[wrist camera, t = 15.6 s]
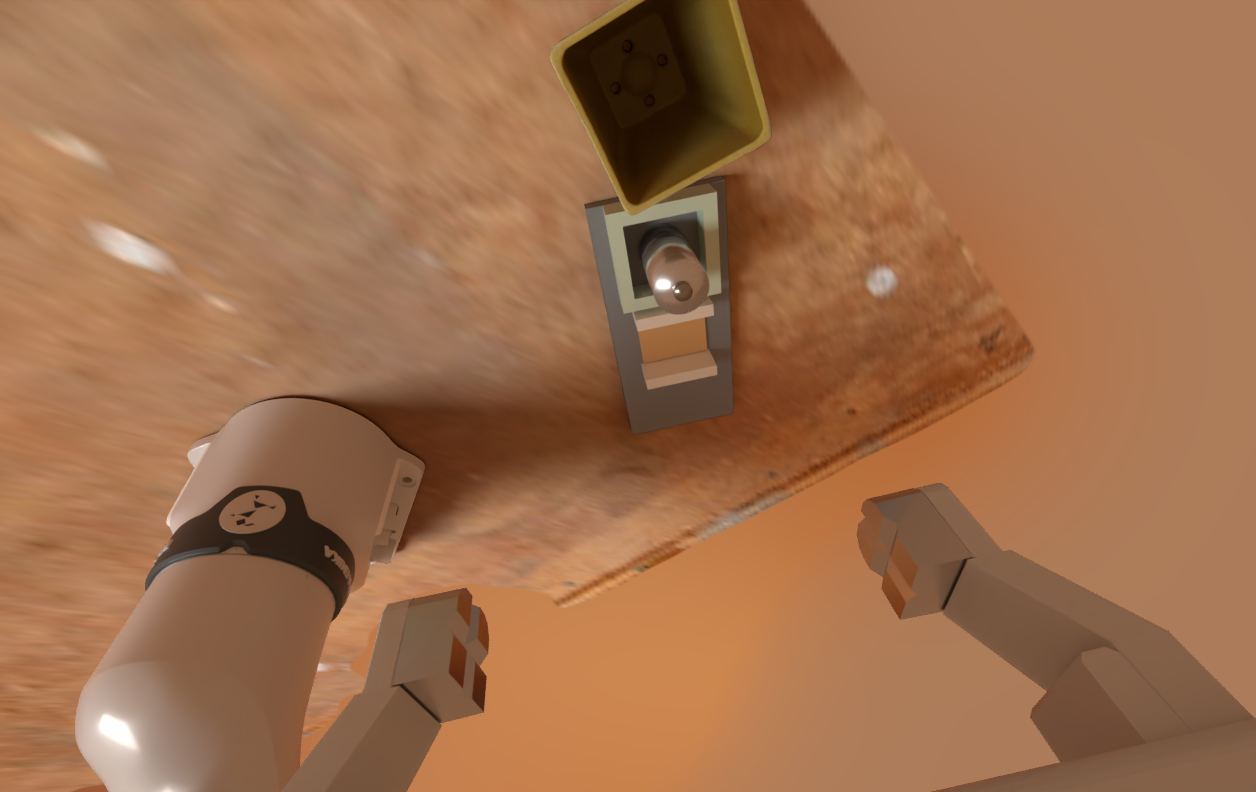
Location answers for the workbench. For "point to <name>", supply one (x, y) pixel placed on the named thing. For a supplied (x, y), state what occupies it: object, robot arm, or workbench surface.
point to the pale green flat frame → (676, 204)
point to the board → (642, 404)
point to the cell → (672, 269)
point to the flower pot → (664, 93)
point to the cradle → (674, 345)
